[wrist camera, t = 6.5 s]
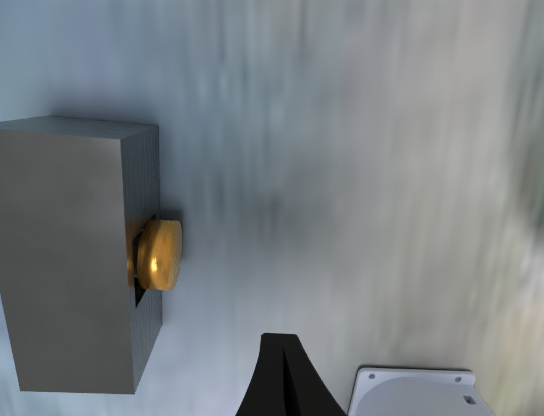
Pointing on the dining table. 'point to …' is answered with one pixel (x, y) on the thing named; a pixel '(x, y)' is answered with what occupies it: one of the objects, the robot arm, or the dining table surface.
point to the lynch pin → (158, 254)
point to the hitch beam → (77, 251)
